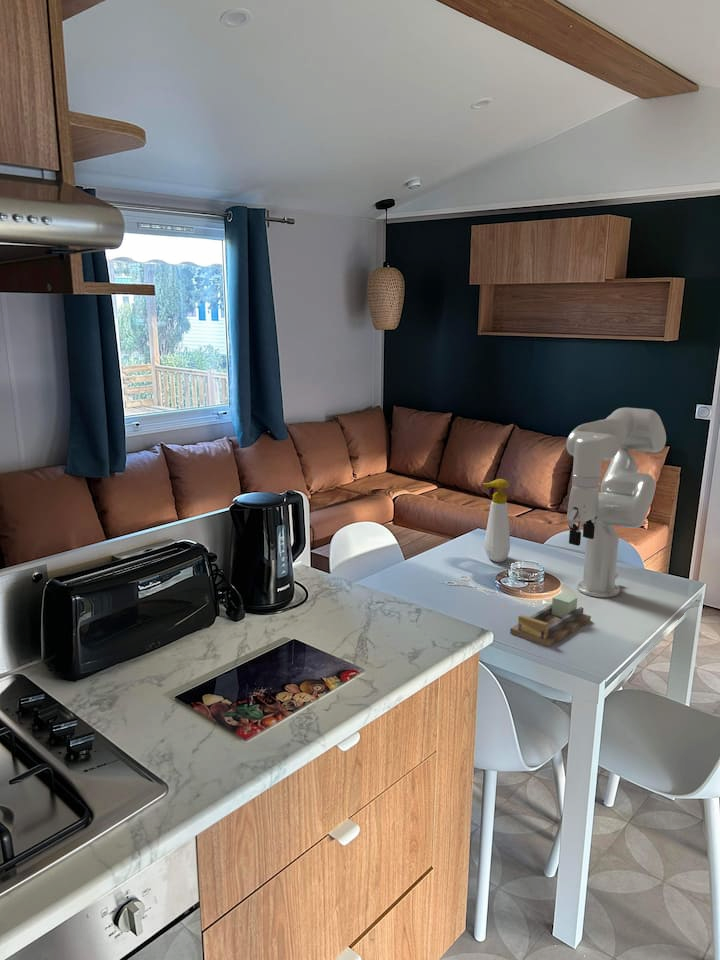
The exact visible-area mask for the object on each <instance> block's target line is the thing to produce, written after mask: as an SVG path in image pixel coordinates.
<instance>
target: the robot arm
mask: <svg viewBox="0 0 720 960" xmlns="http://www.w3.org/2000/svg"><path fill="white" fill-rule="evenodd" d="M665 429H666V428H665V427H664V424H663V421H662V419H661V417H660V414H658V413H657V411H655V410H653V409H648V408H639V407H638V408H637V407H620V408H617V409H615V410H613V412H611V414H610V415H608V416H607V417H606V418H605V419H599V420H596V421H591V422H586V423H582V424H580V425H578V426H576V427H575V428H574V429H573V430H572V431H571V432H570V433H569V435H568V437H567V438H566V443H565V445H566V450H567V452H568V454H569V455H570V456H572V457H573V461H572V462H573V463H572V464H573V465H572V475H571V476H572V478H571V479H572V480H571V489H570V494H569V499H568V505H567V513H566V519H567V521H566V522H567V523H568V530H569V535H568V536H569V537H568V544H570V545H573V546H578V547H579V546H581V539H582V537H583V538H585V553H584V562H583V563H584V564H583V565H584V566H583V576H582V578H583V579H582V580H581V581H579V582H578V583H577V590H578V591H579V592H580V593H582V594H583V595H587V596H590V597H596V598H612V597H616V596H618V595H619V594H620V587H619V586H618V585H616V584H615V583H616V580H617V578H619V573H617V562H618V551H619V542H620V541H619V535H618V533H617V531H616V528H615V527H616V526H617V527H622V528H626V529H627V528H629V529H638V528H640V527H642V525H643V524H644V522H645V520H646V519H647V518H646V517H647V516H648V515H647V514H648V513H649V509H650V508H651V505H652V503H653V500H654V497H655V492H656V480H655V478H654V477H653V476H652V475H651V474H648V473H645V472H639V471H638V469H639V465H638V462H637V460H636V459H635V457H634V456H633V455H632V454H631V453H630V452H629V451H634V452H635V451H637V452H645V453H655V454H656V453H659V452H661V451H662V450H663V449H664V448H665V446H666V442H667V434H666V430H665ZM607 461H610V464H609V466H608V468H607V470H606V471H605V473H604V476H603V478H602V481H601V475H602V462H607ZM599 489H600V491H599ZM582 525H583V527H582ZM581 529H582V531H581Z"/></svg>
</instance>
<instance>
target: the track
mask: <svg viewBox="0 0 720 960" xmlns="http://www.w3.org/2000/svg"><path fill="white" fill-rule="evenodd" d="M591 619H592V616H591V615H588V614H586V613H585V614H584V607H582V606H580V607H578V608H576V610H575V611H573V612H571V613H570V614H568V615H566V616H565V617H563V618H562V617H559V616H556V615H552V604H550V605H548V606H546V607H545V608H543V609H542V610H540V611H537V612H536V613H534V614H532V615H531V616H528V615H523V614H520V615H518V620H517V622H518V623H517V624H516V625H514V626H512V627H510V631H509V632H510V633H512V634H511V635H513V634H514V636H516V637H519V638H522V639H525V640H528V641H531V642H534V643H536V644H539V645H542V646H545V647H548V648H551V647H552V646H555V644H557V643H559V642H560V641H562V640H564V639H565V638H566V637H568V636H570V635H571V634H572V633H574V632H576V631H577V630H579V629H580V628H582V627H584V626H585V625H586V624H588V623H590V622H591ZM510 633H509V634H510Z"/></svg>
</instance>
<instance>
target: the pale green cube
mask: <svg viewBox="0 0 720 960" xmlns="http://www.w3.org/2000/svg"><path fill="white" fill-rule="evenodd" d="M551 600H552V602H551V605H552V615H556V616H559V617H562V618H563V617H565V616H566V615H568V614H570V613H571V612H573V611H575V610H576V609H578V608H577V606H578V597H576V596H573V595H569V594H566V593H563V592H560V593H558V594H557V595H555V596H553V597H552V599H551Z"/></svg>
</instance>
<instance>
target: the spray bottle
mask: <svg viewBox="0 0 720 960" xmlns="http://www.w3.org/2000/svg"><path fill="white" fill-rule="evenodd" d="M481 484H482V486H484V487H486V488H487V487H488V488H497V491H496V492H494V493H493V494H492V501H491V502H490V507H489V514H488V520H487V525H486V531H485V536H484V546H483V547H484V550H485V553H486V556H487V558H489V560H491V561H493V562H496V563H501V562H504V561H506V559H507V558H508V556H509V554H510V550H511V549H510V548H511V541H510V540H511V539H510V538H511V536H510V524H509V523H510V522H509V510H508V509H509V507H508V502H507V499H508V498H507V497H508V496H507V495H506V493H505V492H503V489H505V488H506V489H507V488H509V487H510V484H509V482H508V481H507V480H506V479H503V478H496V479H495V480H492V481H490V482H483V483H481Z"/></svg>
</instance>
